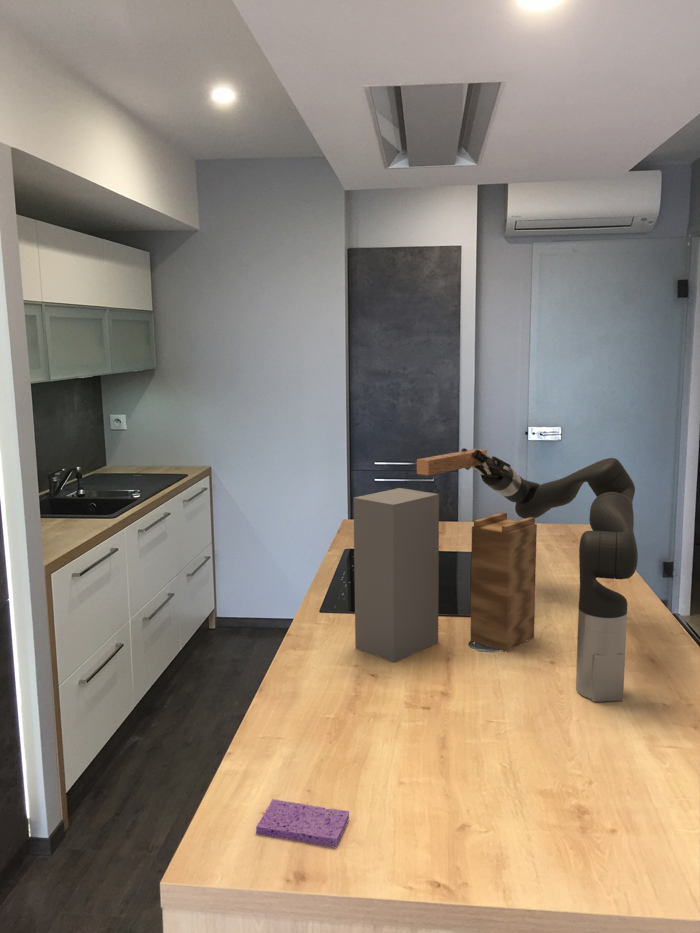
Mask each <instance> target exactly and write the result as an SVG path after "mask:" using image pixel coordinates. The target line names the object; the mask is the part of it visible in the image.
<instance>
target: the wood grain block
mask: <svg viewBox="0 0 700 933" xmlns="http://www.w3.org/2000/svg"><path fill="white" fill-rule="evenodd" d="M537 526H538V525H537V524H536V518H533V517H529V518H526V519H524V518H522V519H519V520H515V519H514V520H513V519H510V518H509V519H508V513H507V512H499V513H496V514H493V515H489V516H486V517H483V518H482V517H481V518H478V519H476V520H473V526H471V557H470V558H471V560H470V561H471V562H470V563H471V567H470V568H471V571H470V572H471V573H470V574H471V575H470V576H471V577H470V642H473V641H474V643H476V642H477V644H479V643H481V644H480V645H482V644H485V645H484V646H486V645H488V646H487V647H489V646H492V647H495V648H498V649H501V650H500V651H502V650H503V651H502V652H505V651H507V652H509V651H511V650H513V649H515V648H517V647H518V645H519V646H520V644H521V645H522V644H524V643H526V642H528V641H530V640H532V639H533V637H534V638H535V613H536V610H535V609H536V608H535V606H536V575H537V574H536V573H537V572H536V571H537V570H536V569H537V568H536V567H537V537H538V536H537V534H538V533H537V531H538V530H537ZM531 638H532V639H531ZM529 639H530V640H529ZM527 640H528V641H527ZM525 641H526V642H525ZM516 646H517V647H516ZM492 647H491V648H492ZM514 647H515V648H514ZM495 648H494V649H495ZM498 649H497V650H498ZM510 649H511V650H510ZM508 650H509V651H508Z"/></svg>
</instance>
